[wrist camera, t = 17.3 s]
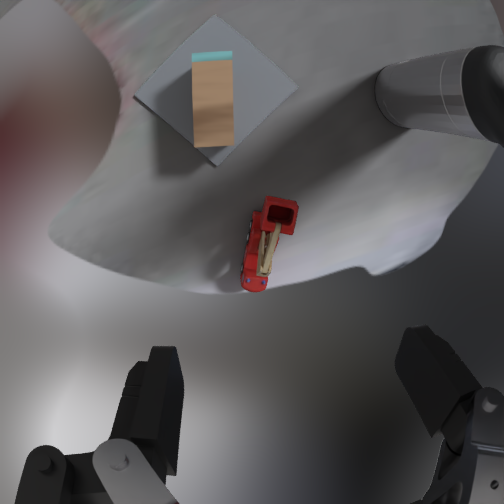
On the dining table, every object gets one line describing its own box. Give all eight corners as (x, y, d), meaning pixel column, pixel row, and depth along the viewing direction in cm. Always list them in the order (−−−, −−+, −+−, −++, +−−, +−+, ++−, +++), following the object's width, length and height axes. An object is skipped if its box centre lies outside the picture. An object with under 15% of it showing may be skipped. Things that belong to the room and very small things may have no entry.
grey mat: (215, 15, 28) (214, 14, 28) (298, 87, 33) (298, 86, 32) (135, 95, 31) (134, 94, 31) (217, 166, 36) (217, 166, 36)
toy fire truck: (238, 278, 43) (241, 319, 34) (258, 181, 37) (267, 200, 28) (261, 281, 43) (270, 322, 34) (284, 186, 38) (301, 206, 29)
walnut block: (234, 145, 29) (232, 50, 25) (194, 147, 29) (191, 53, 25) (233, 142, 35) (231, 62, 31) (199, 143, 34) (197, 64, 30)
